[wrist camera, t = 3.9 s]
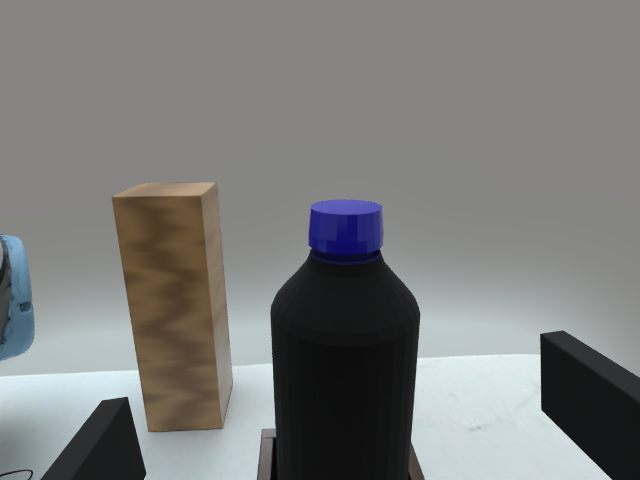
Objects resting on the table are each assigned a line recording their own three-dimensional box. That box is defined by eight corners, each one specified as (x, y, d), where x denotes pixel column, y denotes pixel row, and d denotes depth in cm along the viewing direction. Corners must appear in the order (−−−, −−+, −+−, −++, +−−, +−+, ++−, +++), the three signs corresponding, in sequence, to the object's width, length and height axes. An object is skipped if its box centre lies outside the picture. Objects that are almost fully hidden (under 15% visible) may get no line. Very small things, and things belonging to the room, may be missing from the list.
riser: (148, 432, 44) (111, 196, 36) (169, 385, 52) (142, 183, 44) (222, 428, 44) (201, 195, 37) (232, 383, 52) (217, 181, 44)
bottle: (274, 641, 26) (251, 227, 18) (288, 514, 35) (277, 192, 27) (410, 645, 26) (448, 227, 18) (391, 516, 35) (410, 192, 26)
